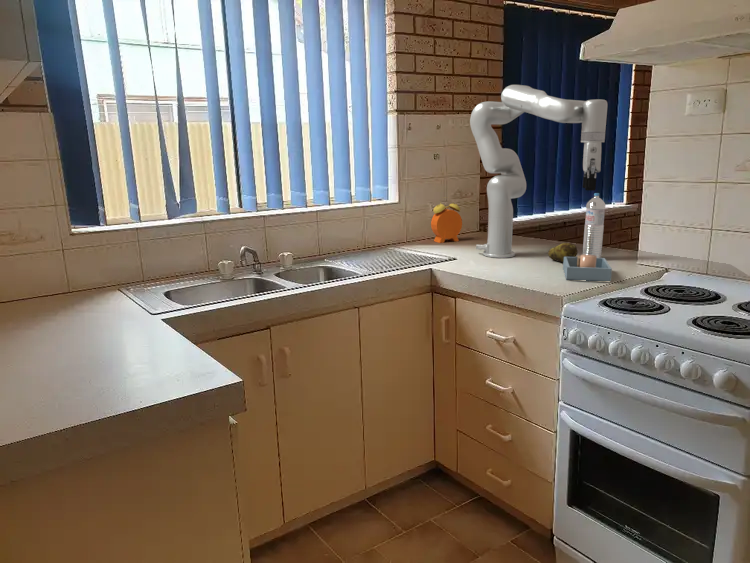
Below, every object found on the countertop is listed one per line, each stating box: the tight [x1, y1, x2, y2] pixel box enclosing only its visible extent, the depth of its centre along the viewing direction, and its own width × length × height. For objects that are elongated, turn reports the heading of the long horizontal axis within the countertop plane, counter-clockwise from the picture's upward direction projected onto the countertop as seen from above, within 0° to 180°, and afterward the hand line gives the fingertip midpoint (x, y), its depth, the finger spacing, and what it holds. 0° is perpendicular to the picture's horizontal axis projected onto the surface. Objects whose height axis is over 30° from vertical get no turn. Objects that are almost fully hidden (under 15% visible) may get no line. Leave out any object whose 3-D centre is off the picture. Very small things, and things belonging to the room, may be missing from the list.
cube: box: [576, 255, 581, 267], centre depth 198 cm, size 5×5×5 cm
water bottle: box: [582, 192, 607, 258], centre depth 219 cm, size 7×7×25 cm
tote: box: [562, 256, 613, 282], centre depth 195 cm, size 14×18×4 cm
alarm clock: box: [430, 197, 463, 244], centre depth 262 cm, size 13×6×20 cm, turn 113°
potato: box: [547, 242, 578, 263], centre depth 215 cm, size 8×13×8 cm, turn 1°
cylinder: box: [580, 253, 597, 268], centre depth 191 cm, size 5×5×7 cm
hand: (588, 189), depth 198 cm, fingers open, 9 cm apart
